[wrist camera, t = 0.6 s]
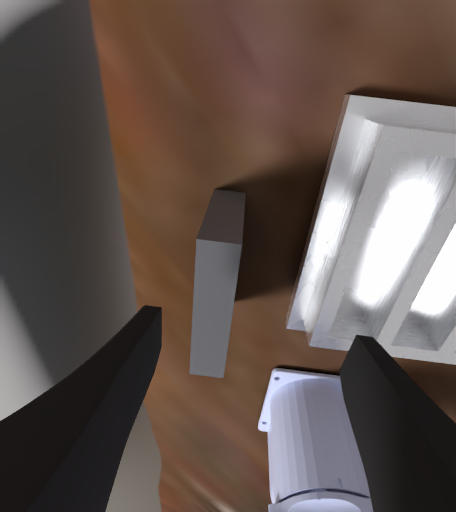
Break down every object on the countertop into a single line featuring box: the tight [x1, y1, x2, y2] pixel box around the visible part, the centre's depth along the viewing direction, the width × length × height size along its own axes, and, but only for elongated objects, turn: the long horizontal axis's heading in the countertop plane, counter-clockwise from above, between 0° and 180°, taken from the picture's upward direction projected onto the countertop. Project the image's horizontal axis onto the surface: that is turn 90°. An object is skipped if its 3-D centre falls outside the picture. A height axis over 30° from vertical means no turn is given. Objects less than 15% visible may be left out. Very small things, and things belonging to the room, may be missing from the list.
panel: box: [190, 189, 246, 378], centre depth 18 cm, size 9×2×7 cm, turn 174°
